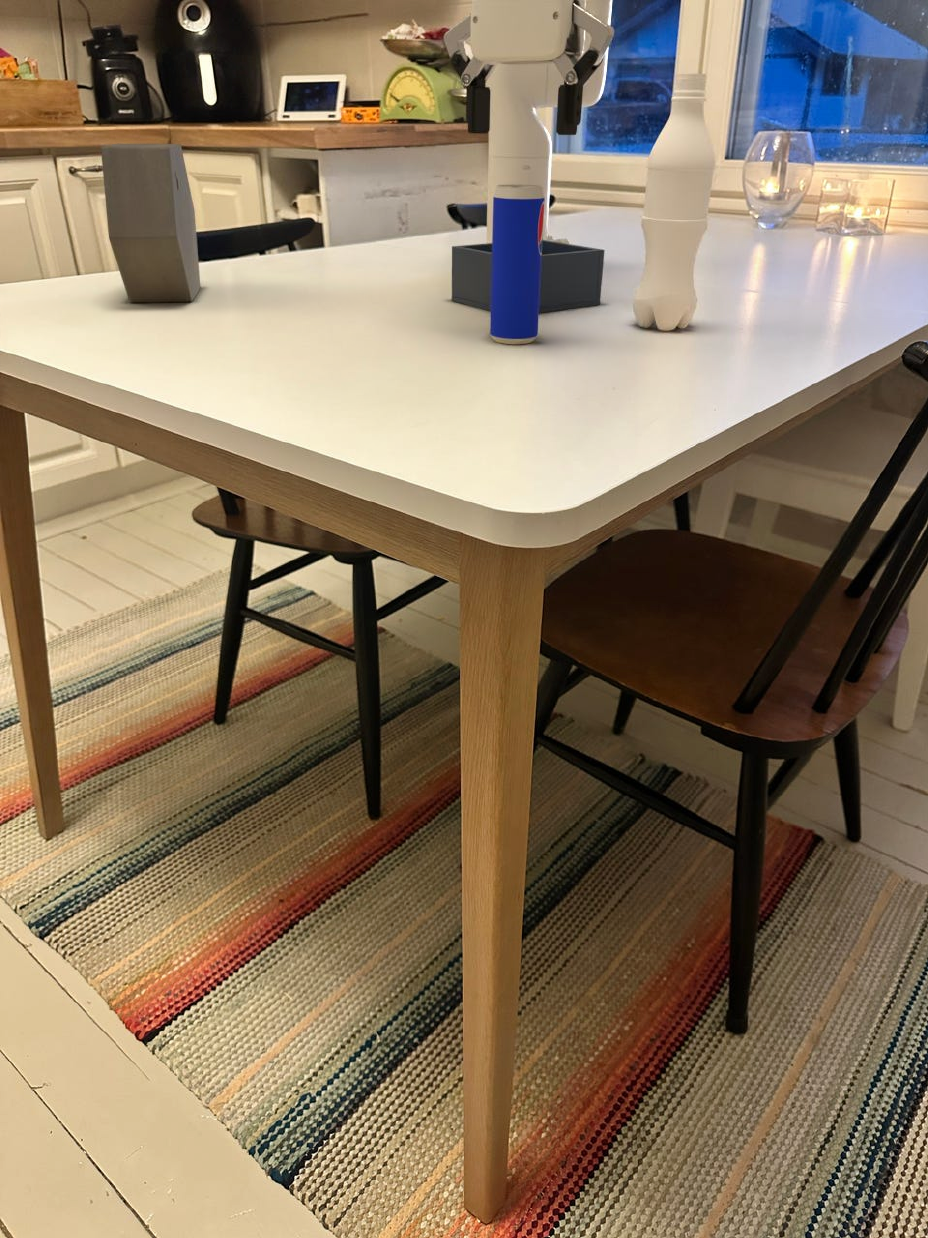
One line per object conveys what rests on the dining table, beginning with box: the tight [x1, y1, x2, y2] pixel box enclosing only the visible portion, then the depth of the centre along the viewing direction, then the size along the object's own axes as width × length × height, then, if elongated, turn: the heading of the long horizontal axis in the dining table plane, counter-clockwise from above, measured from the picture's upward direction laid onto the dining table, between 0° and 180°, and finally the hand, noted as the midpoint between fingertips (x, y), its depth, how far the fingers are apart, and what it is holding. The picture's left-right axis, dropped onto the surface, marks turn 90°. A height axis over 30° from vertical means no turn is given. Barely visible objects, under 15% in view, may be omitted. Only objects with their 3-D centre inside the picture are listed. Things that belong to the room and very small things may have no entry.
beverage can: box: [489, 185, 545, 345], centre depth 92 cm, size 5×5×15 cm
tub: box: [451, 240, 605, 314], centre depth 113 cm, size 15×13×7 cm
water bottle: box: [632, 73, 716, 332], centre depth 97 cm, size 7×7×25 cm
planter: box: [100, 143, 201, 303], centre depth 111 cm, size 17×8×21 cm
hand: (521, 133), depth 86 cm, fingers open, 9 cm apart
